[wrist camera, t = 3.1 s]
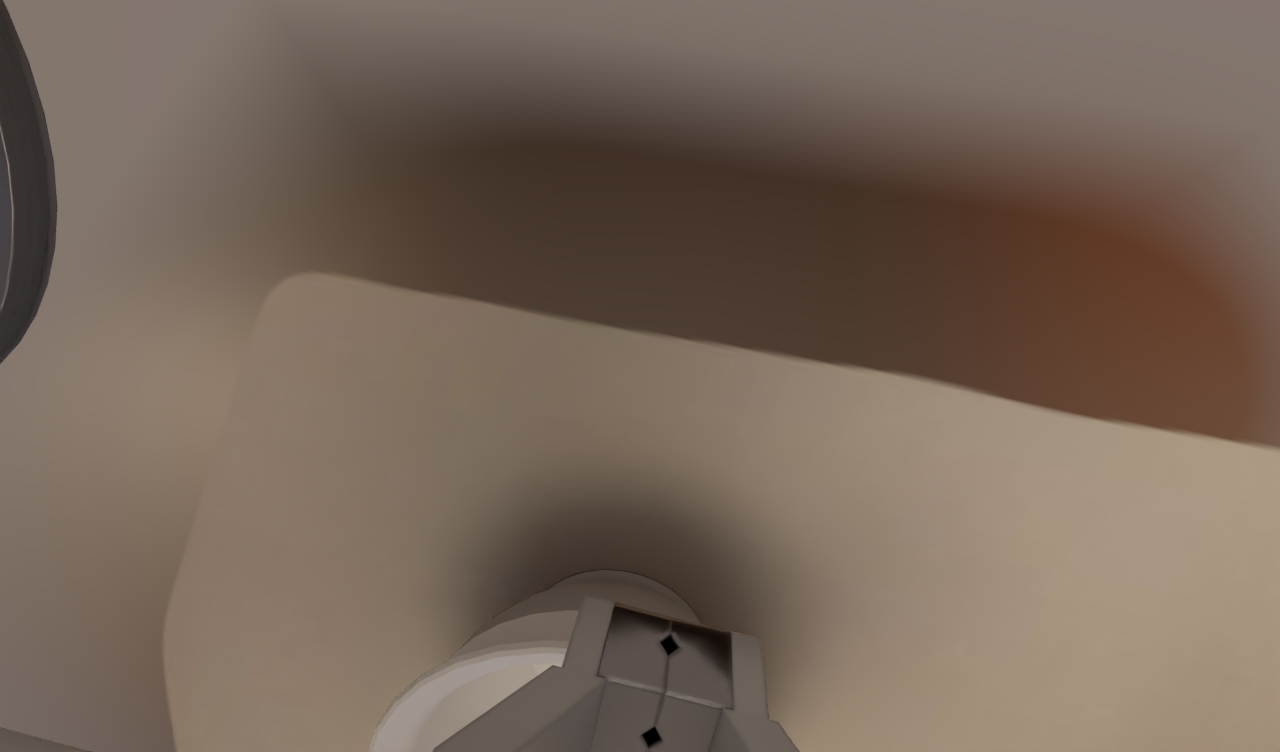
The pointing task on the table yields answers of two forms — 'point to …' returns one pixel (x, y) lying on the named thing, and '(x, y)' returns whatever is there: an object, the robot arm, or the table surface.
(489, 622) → the bowl
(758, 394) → the table surface
